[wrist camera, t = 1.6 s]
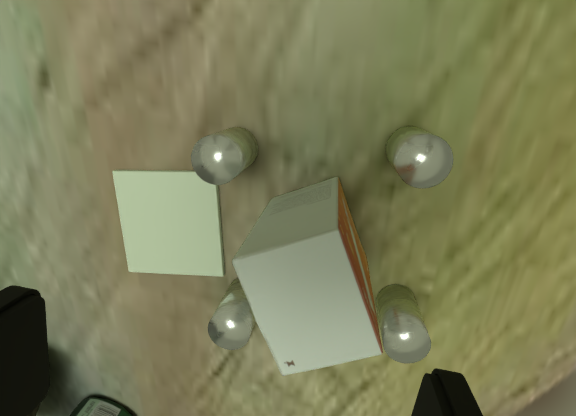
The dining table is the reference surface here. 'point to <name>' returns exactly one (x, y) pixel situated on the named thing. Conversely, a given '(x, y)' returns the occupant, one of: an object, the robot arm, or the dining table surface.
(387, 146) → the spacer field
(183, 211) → the sage mat
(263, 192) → the dining table surface
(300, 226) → the small box
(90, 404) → the coffee jar
